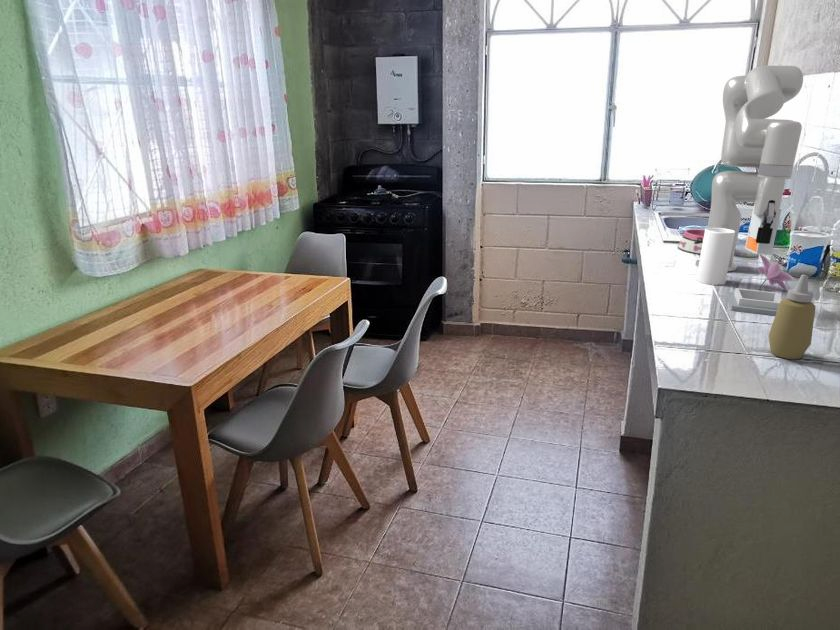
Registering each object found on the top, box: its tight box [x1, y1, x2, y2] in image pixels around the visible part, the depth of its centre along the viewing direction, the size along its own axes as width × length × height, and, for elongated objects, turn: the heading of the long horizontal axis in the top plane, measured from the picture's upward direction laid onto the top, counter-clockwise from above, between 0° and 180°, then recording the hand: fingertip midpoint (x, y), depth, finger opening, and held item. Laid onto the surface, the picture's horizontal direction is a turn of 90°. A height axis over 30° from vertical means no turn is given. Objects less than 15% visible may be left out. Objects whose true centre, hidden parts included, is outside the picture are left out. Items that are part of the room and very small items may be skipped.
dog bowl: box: [677, 228, 705, 256], centre depth 227 cm, size 18×19×7 cm
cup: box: [695, 227, 735, 286], centre depth 185 cm, size 8×8×16 cm
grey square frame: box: [725, 287, 784, 317], centre depth 164 cm, size 14×14×3 cm
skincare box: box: [744, 204, 782, 256], centre depth 159 cm, size 6×4×12 cm
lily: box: [755, 255, 796, 292], centre depth 180 cm, size 12×12×10 cm
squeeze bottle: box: [768, 274, 816, 360], centre depth 129 cm, size 8×8×18 cm
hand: (760, 239), depth 160 cm, fingers closed on skincare box, 7 cm apart
